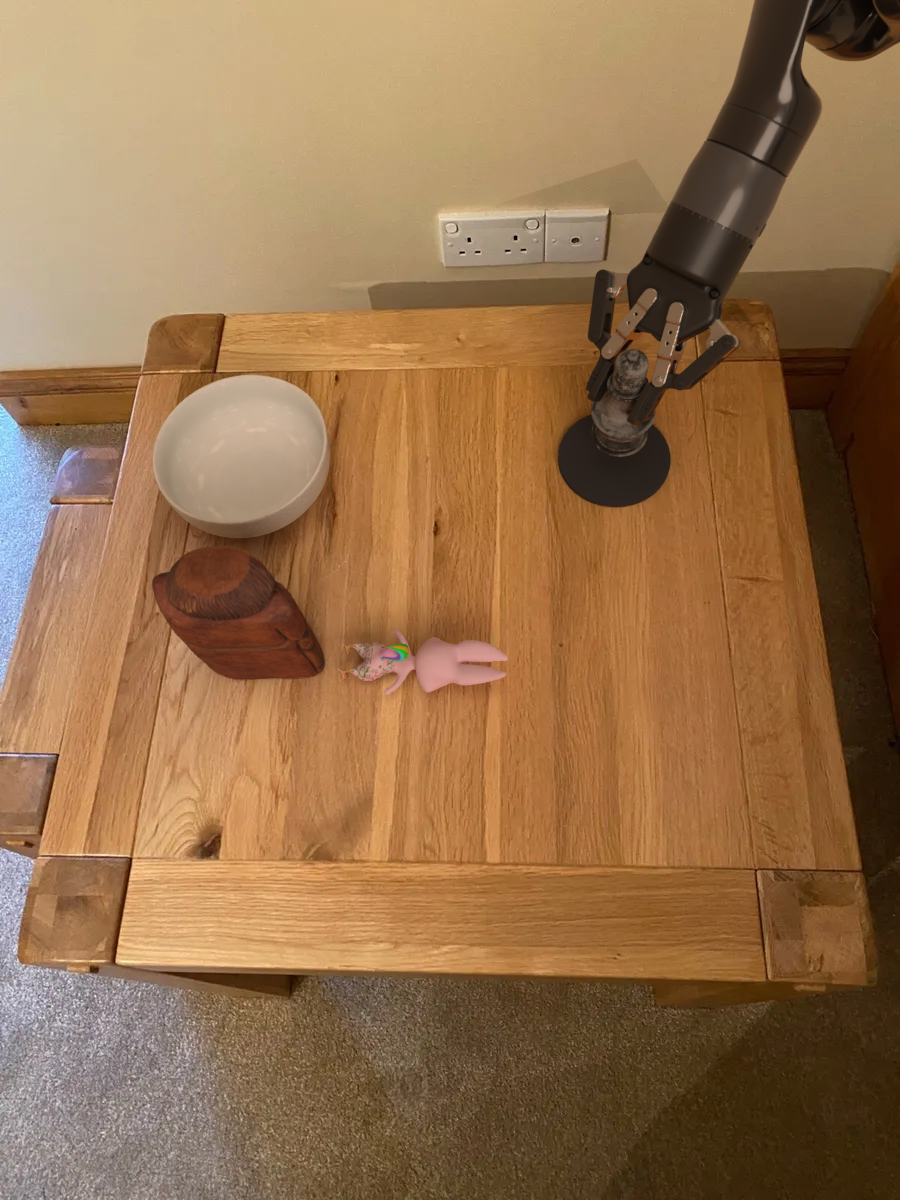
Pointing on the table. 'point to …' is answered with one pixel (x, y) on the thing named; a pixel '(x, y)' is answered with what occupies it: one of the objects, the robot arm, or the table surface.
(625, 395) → the salt shaker
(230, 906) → the table surface
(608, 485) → the coaster
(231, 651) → the wooden figurine
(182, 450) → the cereal bowl
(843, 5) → the robot arm
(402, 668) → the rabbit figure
